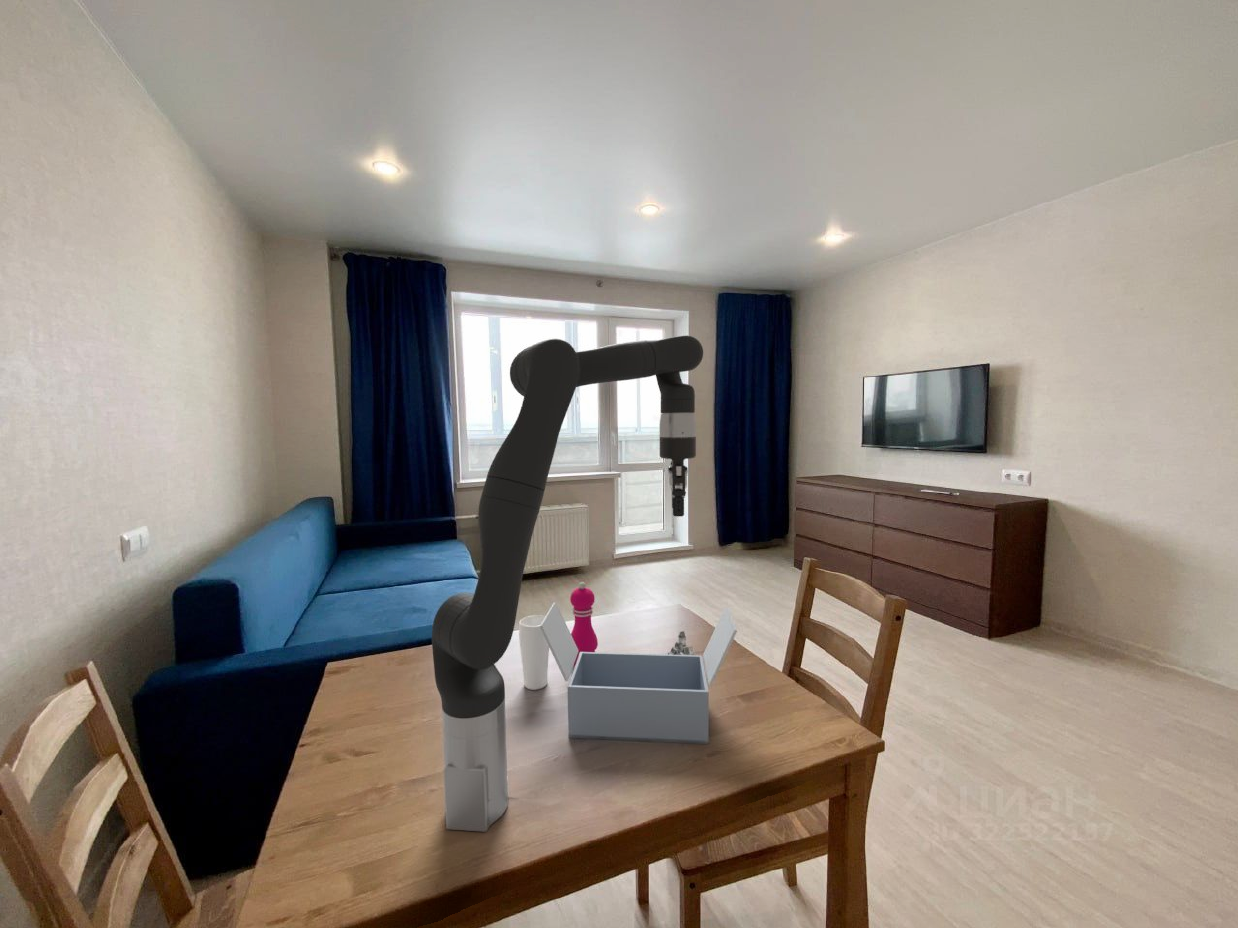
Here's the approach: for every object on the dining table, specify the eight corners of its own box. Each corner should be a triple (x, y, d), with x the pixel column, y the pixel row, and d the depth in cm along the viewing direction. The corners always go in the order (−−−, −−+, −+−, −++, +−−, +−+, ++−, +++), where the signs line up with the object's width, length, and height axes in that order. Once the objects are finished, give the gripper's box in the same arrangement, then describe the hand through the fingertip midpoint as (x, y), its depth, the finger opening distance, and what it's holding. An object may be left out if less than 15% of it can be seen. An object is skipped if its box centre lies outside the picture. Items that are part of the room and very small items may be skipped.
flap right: (708, 685, 89) (711, 686, 89) (734, 629, 88) (737, 631, 88) (703, 654, 101) (705, 655, 101) (725, 605, 100) (728, 606, 100)
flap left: (541, 625, 91) (539, 626, 91) (567, 680, 91) (565, 681, 91) (555, 601, 103) (553, 602, 103) (578, 650, 103) (576, 651, 103)
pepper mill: (565, 657, 123) (563, 580, 121) (591, 651, 126) (590, 576, 124) (574, 670, 116) (573, 588, 115) (602, 663, 119) (601, 584, 118)
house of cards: (716, 664, 119) (716, 634, 118) (686, 672, 115) (686, 641, 115) (695, 649, 127) (695, 621, 126) (667, 656, 123) (667, 627, 123)
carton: (708, 744, 89) (708, 691, 88) (568, 737, 91) (567, 686, 90) (702, 700, 103) (702, 655, 102) (580, 696, 105) (580, 651, 104)
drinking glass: (553, 677, 113) (552, 615, 112) (546, 693, 106) (545, 627, 105) (525, 676, 114) (523, 614, 113) (516, 692, 107) (514, 626, 106)
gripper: (698, 435, 93) (698, 519, 95) (693, 434, 107) (693, 506, 109) (659, 436, 94) (659, 518, 95) (659, 434, 108) (659, 506, 109)
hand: (677, 512), depth 102 cm, fingers open, 8 cm apart
